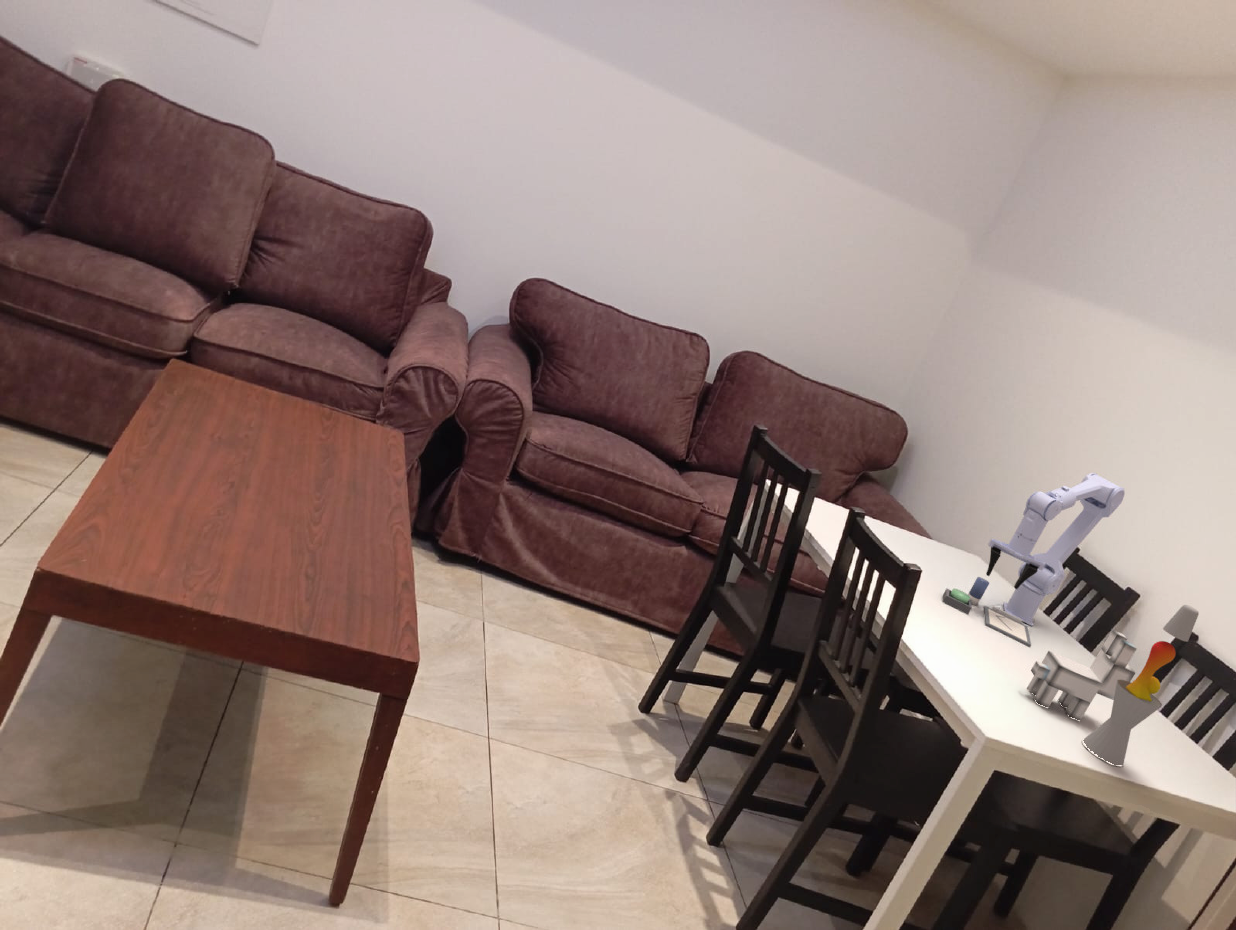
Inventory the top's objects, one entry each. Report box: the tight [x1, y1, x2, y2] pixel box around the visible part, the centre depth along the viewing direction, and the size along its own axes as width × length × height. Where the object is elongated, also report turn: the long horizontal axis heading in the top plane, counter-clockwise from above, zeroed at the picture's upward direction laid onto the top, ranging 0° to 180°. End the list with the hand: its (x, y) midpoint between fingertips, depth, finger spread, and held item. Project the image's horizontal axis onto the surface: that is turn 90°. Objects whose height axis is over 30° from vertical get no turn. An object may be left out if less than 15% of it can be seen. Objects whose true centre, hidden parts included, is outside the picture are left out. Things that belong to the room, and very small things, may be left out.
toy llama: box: [1026, 629, 1138, 721], centre depth 223 cm, size 8×18×20 cm, turn 85°
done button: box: [949, 588, 970, 605], centre depth 268 cm, size 5×5×2 cm
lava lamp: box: [1082, 604, 1199, 766], centre depth 205 cm, size 9×9×35 cm
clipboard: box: [983, 605, 1032, 648], centre depth 268 cm, size 16×12×2 cm
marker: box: [967, 576, 990, 607], centre depth 276 cm, size 3×3×7 cm
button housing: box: [942, 587, 973, 615], centre depth 269 cm, size 7×7×2 cm
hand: (1001, 581), depth 269 cm, fingers open, 7 cm apart
